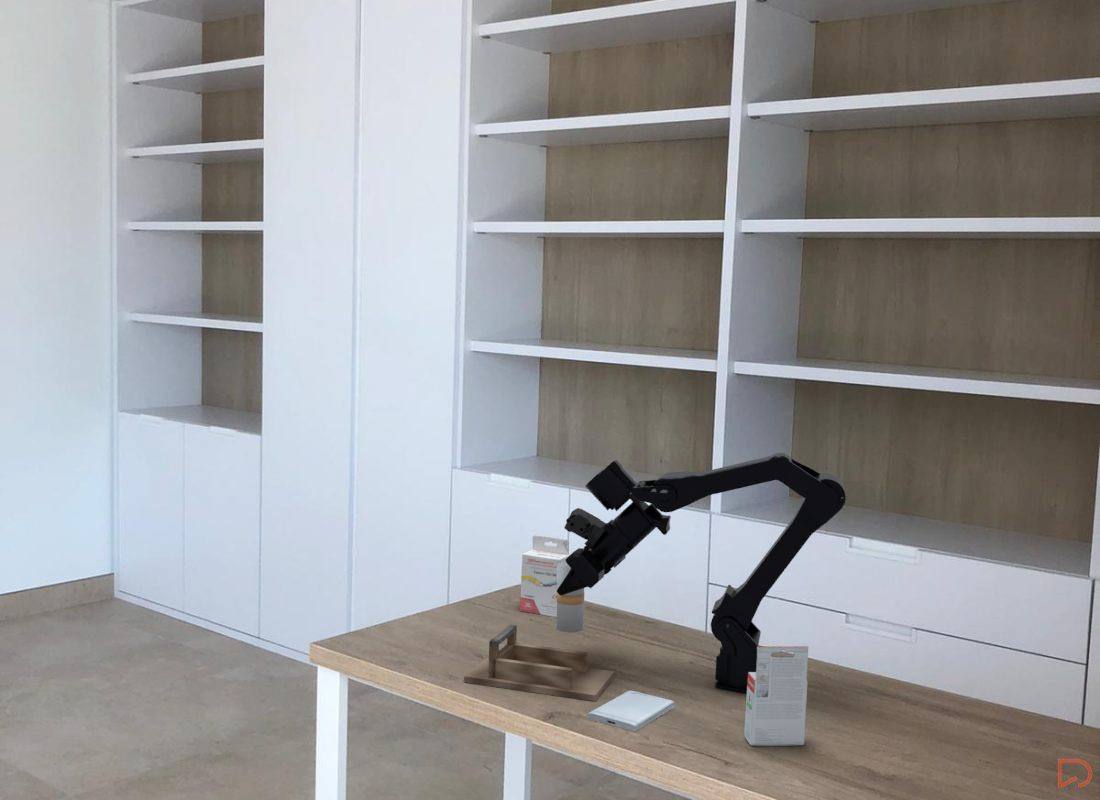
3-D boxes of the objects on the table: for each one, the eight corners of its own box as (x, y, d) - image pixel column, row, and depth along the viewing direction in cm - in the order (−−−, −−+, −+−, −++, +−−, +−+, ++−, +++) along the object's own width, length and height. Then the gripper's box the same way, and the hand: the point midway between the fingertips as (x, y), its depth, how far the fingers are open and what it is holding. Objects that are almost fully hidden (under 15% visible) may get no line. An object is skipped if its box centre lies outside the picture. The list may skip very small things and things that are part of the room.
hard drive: (628, 689, 180) (587, 711, 169) (674, 700, 175) (635, 724, 165) (628, 699, 180) (587, 722, 170) (674, 711, 176) (635, 735, 165)
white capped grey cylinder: (587, 626, 194) (588, 563, 194) (577, 633, 190) (578, 569, 189) (562, 623, 196) (563, 560, 195) (551, 630, 192) (552, 566, 191)
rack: (614, 677, 188) (615, 636, 188) (595, 701, 177) (596, 657, 176) (490, 660, 195) (491, 620, 194) (463, 682, 183) (465, 640, 183)
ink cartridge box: (518, 611, 225) (521, 538, 224) (529, 605, 229) (531, 534, 228) (558, 618, 222) (561, 543, 220) (568, 611, 226) (571, 539, 225)
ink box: (743, 737, 165) (748, 638, 163) (796, 736, 165) (802, 639, 164) (750, 747, 161) (755, 646, 160) (804, 746, 162) (810, 647, 160)
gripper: (609, 486, 199) (548, 543, 203) (578, 503, 181) (513, 566, 185) (652, 533, 197) (590, 590, 201) (625, 556, 179) (558, 617, 184)
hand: (562, 589), depth 193 cm, fingers closed on white capped grey cylinder, 5 cm apart
